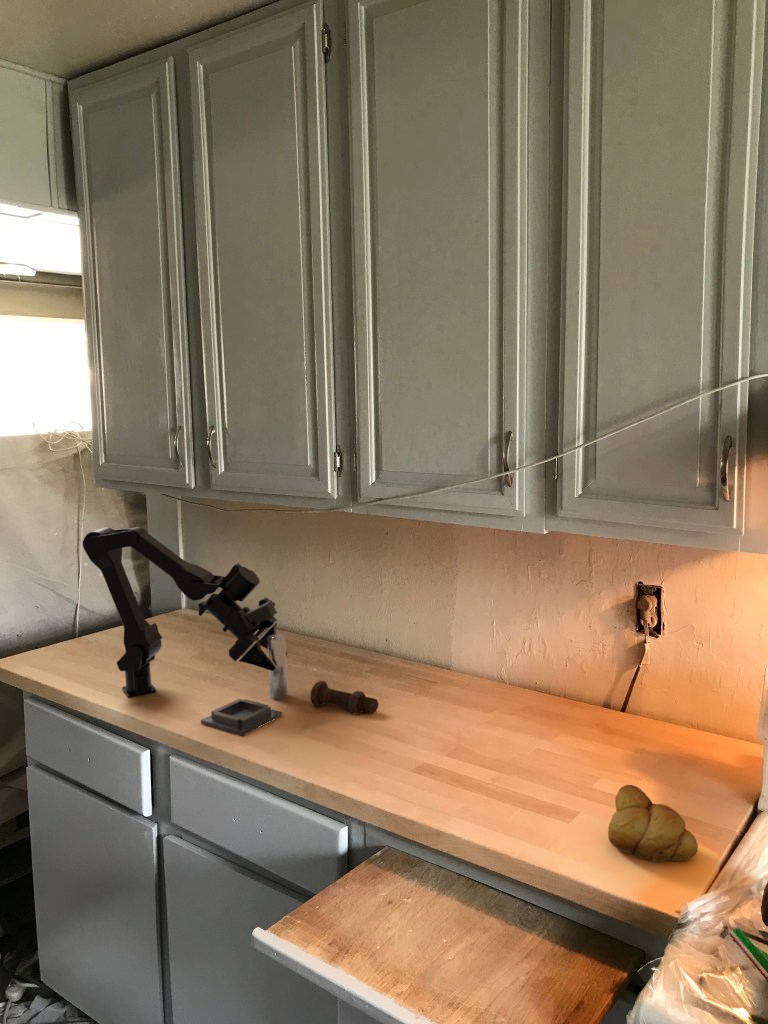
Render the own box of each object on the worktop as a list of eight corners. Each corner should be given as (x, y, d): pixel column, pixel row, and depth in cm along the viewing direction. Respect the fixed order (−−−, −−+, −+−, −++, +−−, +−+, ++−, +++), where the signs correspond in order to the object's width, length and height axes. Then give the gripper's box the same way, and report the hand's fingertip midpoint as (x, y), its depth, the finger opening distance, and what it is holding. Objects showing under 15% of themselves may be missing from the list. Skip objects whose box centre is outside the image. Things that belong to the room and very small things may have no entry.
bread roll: (705, 851, 124) (707, 800, 122) (681, 882, 116) (683, 828, 115) (623, 824, 132) (624, 776, 131) (595, 851, 124) (596, 801, 123)
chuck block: (200, 723, 175) (200, 713, 175) (241, 704, 185) (240, 694, 185) (242, 735, 169) (241, 725, 168) (282, 715, 178) (281, 705, 178)
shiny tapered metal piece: (267, 695, 190) (264, 636, 188) (283, 691, 192) (280, 633, 190) (274, 700, 187) (271, 640, 185) (290, 697, 189) (288, 637, 187)
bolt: (373, 724, 177) (314, 710, 185) (383, 706, 181) (325, 693, 188) (366, 706, 174) (307, 693, 181) (377, 688, 177) (318, 676, 185)
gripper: (239, 601, 178) (292, 651, 177) (265, 580, 196) (313, 626, 196) (206, 636, 180) (258, 686, 180) (235, 612, 198) (283, 658, 198)
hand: (280, 662), depth 188 cm, fingers open, 9 cm apart
